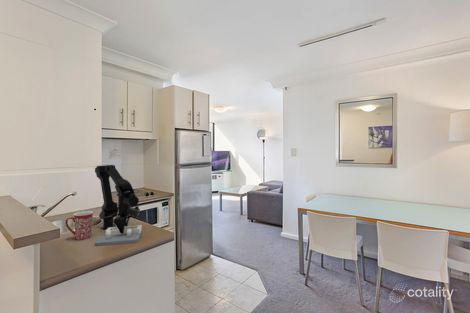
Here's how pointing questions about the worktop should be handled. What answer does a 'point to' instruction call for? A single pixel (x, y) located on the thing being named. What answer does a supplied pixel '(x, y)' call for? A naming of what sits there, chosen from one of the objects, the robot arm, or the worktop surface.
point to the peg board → (118, 238)
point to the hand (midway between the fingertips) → (124, 230)
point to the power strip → (125, 229)
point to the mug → (81, 224)
